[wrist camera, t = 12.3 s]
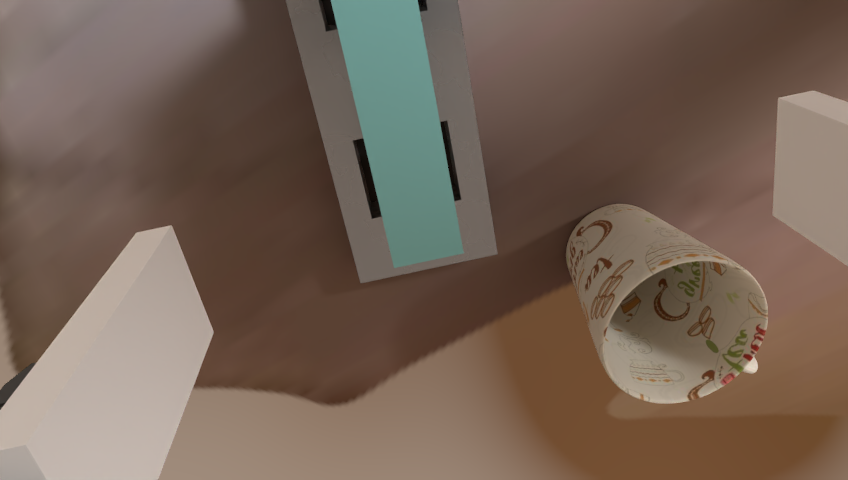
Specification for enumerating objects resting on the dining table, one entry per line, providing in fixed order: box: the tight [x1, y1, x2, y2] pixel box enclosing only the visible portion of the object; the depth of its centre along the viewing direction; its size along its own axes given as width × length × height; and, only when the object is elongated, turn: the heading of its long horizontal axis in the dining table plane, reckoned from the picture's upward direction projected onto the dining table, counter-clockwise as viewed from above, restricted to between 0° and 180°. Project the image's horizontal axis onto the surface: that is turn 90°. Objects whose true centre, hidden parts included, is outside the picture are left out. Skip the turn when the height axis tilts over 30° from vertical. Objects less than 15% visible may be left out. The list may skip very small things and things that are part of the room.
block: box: [286, 0, 498, 283], centre depth 34 cm, size 22×8×2 cm, turn 11°
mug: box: [566, 204, 768, 404], centre depth 37 cm, size 8×13×10 cm, turn 58°
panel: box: [331, 0, 464, 268], centre depth 30 cm, size 12×3×11 cm, turn 11°
